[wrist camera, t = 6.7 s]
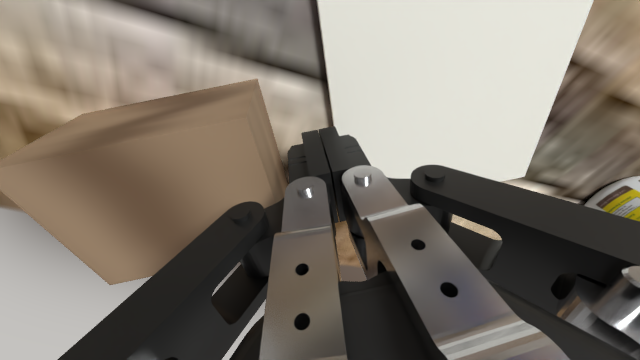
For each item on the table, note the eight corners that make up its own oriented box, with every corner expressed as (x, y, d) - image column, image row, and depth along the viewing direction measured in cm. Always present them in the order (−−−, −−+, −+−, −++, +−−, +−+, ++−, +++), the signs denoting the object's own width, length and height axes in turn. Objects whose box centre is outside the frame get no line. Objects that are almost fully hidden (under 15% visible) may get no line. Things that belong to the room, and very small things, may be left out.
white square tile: (612, -75, 10) (624, -78, 10) (519, 173, 17) (524, 176, 17) (314, -18, 10) (315, -19, 9) (344, 209, 17) (345, 213, 16)
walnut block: (257, 77, 12) (246, 117, 8) (287, 181, 15) (291, 246, 11) (84, 112, 12) (-21, 172, 7) (155, 208, 15) (109, 285, 11)
